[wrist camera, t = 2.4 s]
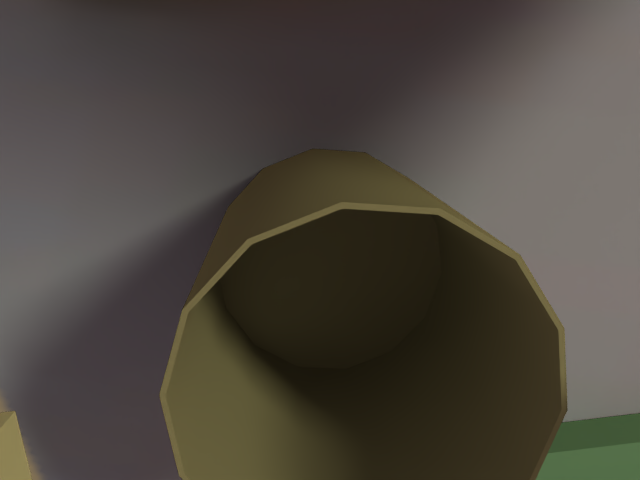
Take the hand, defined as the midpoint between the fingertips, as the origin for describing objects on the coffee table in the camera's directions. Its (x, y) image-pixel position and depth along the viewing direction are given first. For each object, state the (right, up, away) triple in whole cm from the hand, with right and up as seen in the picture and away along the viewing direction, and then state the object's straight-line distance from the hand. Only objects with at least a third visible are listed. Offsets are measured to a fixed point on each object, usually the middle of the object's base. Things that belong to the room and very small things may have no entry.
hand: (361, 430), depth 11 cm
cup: (0, +3, +10) cm, 11 cm away
